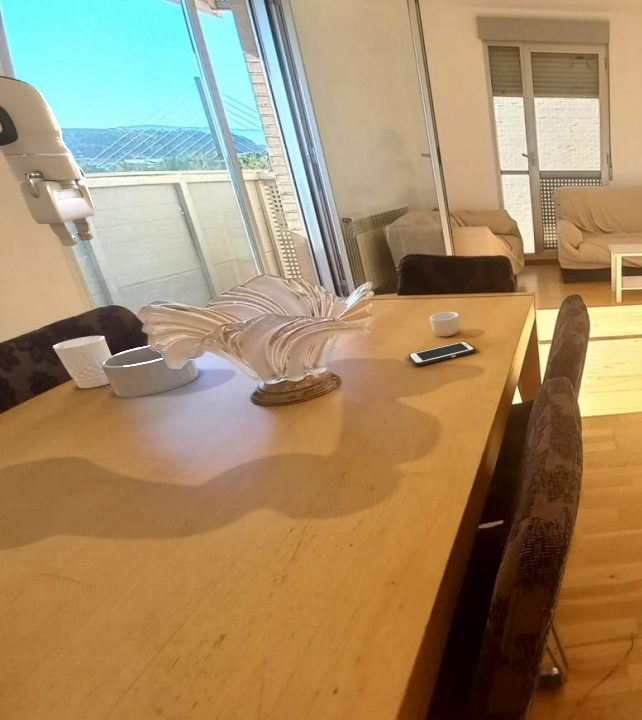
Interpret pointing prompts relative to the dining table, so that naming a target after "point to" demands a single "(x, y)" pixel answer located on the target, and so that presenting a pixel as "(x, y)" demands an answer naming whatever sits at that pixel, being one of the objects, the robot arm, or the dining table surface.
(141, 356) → the gray bowl
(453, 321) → the teacup
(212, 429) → the dining table surface
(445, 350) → the cell phone
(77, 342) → the white cup
